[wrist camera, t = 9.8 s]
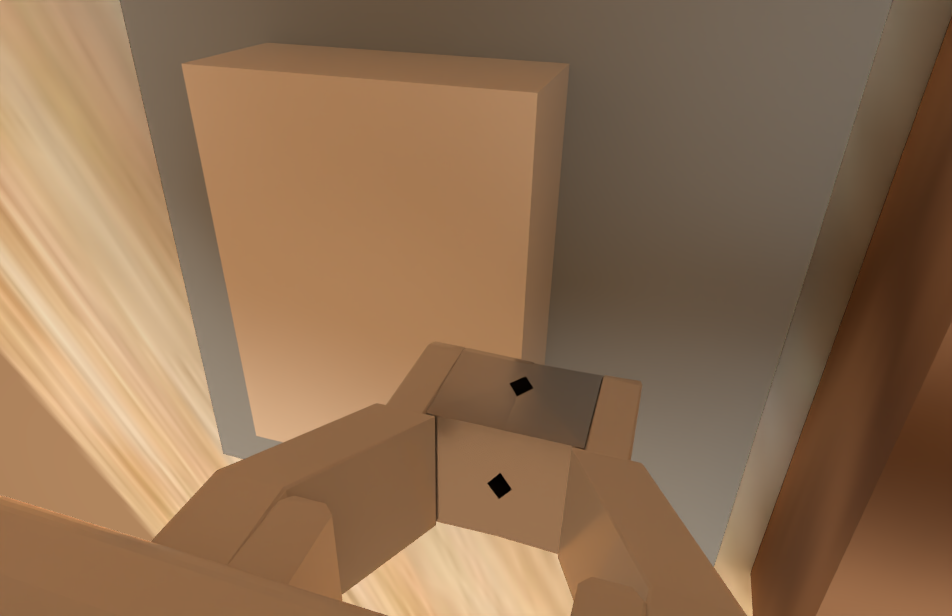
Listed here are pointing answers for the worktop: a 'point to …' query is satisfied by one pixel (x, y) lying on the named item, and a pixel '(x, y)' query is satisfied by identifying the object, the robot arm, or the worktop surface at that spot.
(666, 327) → the mat
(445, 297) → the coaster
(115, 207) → the worktop surface
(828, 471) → the brown flat wooden block
